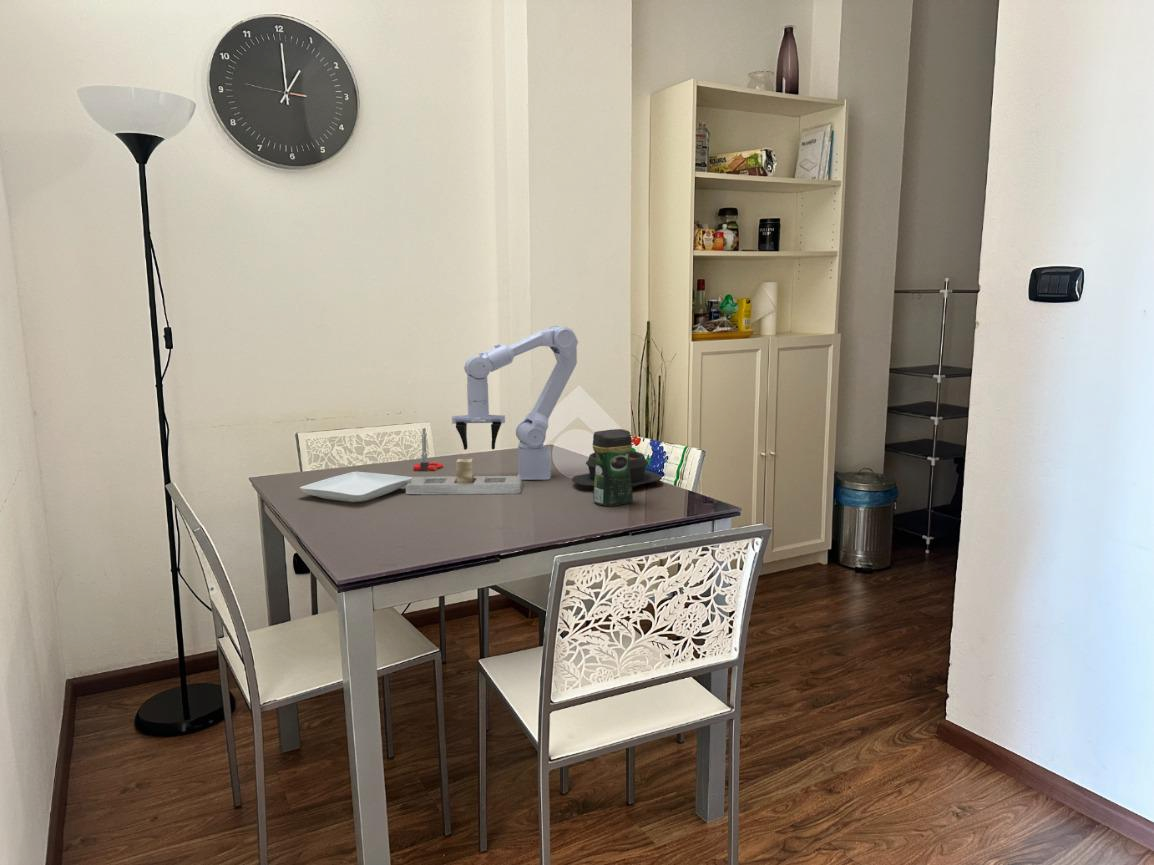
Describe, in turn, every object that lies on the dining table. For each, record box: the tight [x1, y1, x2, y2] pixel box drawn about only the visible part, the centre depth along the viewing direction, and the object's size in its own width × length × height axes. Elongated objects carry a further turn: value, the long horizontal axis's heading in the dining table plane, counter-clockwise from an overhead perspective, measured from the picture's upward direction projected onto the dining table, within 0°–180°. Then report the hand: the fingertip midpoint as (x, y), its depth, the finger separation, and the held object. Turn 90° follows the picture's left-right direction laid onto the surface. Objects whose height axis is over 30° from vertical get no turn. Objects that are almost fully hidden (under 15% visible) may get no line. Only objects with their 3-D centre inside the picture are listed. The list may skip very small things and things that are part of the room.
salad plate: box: [299, 471, 413, 503], centre depth 217 cm, size 21×21×3 cm
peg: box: [455, 458, 475, 483], centre depth 221 cm, size 4×4×8 cm
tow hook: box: [413, 427, 444, 472], centre depth 248 cm, size 8×13×9 cm
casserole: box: [571, 450, 663, 489], centre depth 224 cm, size 25×19×8 cm
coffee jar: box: [592, 428, 634, 507], centre depth 205 cm, size 10×8×19 cm
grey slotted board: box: [405, 475, 523, 495], centre depth 221 cm, size 30×10×2 cm, turn 90°
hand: (479, 448), depth 228 cm, fingers open, 7 cm apart
